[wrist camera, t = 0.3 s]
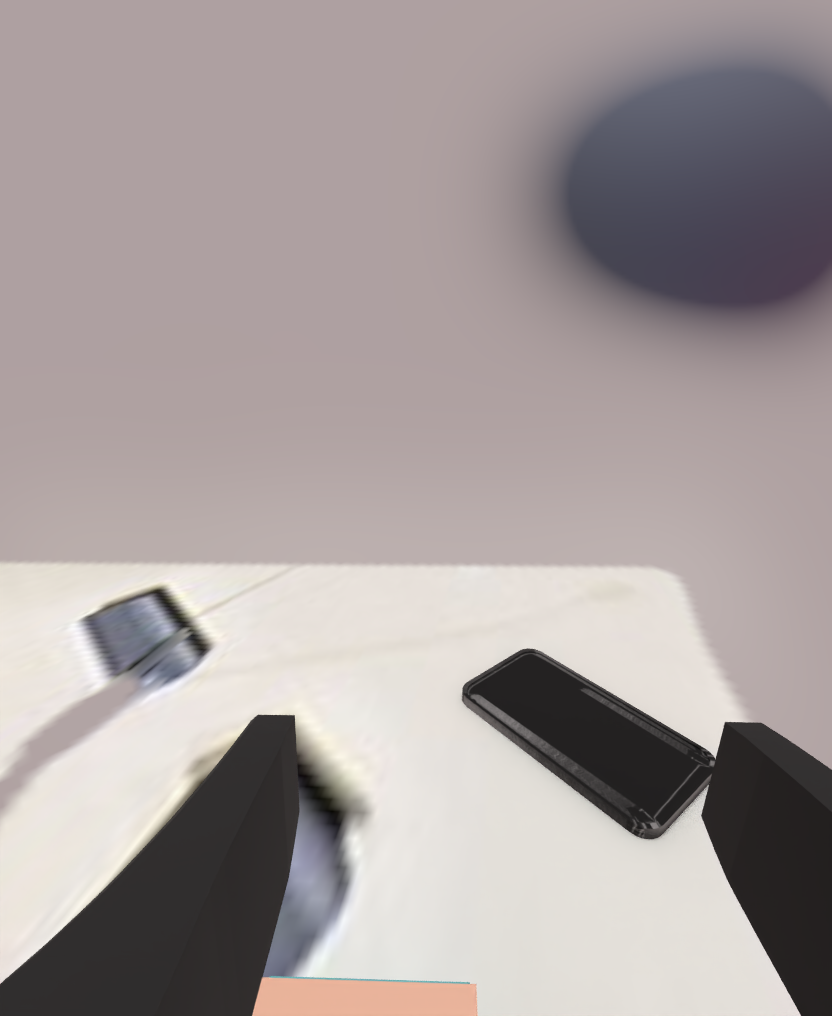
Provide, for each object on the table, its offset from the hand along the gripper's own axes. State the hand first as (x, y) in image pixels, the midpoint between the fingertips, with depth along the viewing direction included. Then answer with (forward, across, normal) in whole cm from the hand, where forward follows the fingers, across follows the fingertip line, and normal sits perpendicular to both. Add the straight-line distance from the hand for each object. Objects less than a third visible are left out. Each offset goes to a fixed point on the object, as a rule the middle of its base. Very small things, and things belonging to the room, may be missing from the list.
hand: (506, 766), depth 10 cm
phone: (+23, -10, +19) cm, 32 cm away
